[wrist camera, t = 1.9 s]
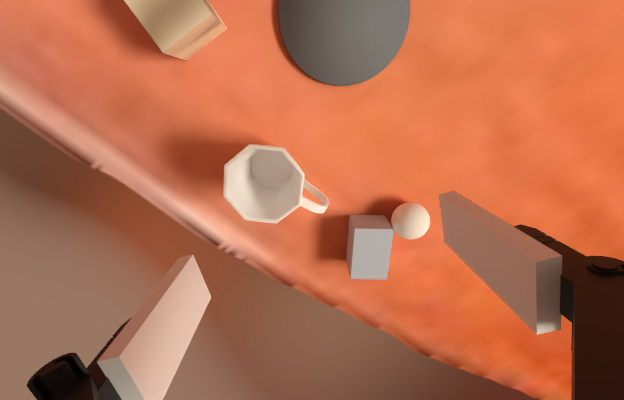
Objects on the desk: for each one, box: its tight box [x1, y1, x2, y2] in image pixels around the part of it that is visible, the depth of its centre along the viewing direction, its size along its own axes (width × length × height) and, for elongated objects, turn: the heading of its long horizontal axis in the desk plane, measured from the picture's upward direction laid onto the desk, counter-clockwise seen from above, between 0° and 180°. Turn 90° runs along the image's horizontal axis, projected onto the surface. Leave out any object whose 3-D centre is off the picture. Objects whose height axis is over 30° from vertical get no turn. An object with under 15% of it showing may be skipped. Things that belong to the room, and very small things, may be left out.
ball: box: [391, 202, 430, 239], centre depth 32 cm, size 4×4×4 cm
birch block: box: [124, 0, 227, 60], centre depth 25 cm, size 5×5×5 cm
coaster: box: [278, 0, 410, 86], centre depth 27 cm, size 12×12×1 cm
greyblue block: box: [346, 215, 394, 280], centre depth 33 cm, size 6×4×4 cm, turn 178°
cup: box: [223, 144, 330, 223], centre depth 29 cm, size 7×10×8 cm
